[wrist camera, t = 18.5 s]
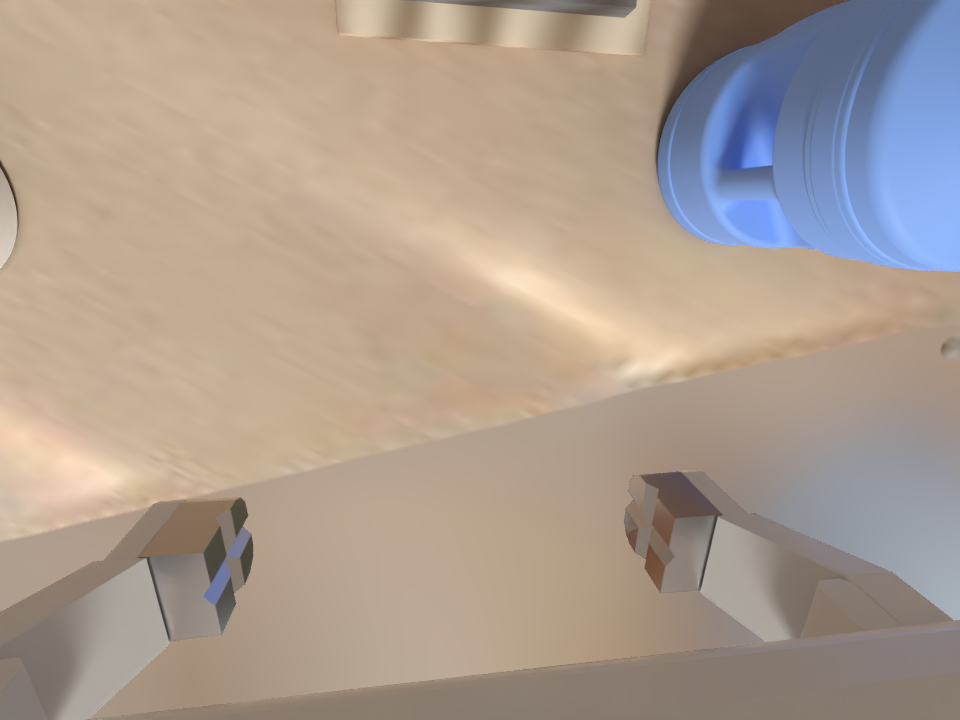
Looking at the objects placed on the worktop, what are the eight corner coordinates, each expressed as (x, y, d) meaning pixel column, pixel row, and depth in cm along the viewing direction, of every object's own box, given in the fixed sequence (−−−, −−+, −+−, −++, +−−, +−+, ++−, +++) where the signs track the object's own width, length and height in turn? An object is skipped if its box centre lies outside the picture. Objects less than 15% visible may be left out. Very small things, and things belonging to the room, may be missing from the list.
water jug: (795, 15, 38) (1661, -413, 11) (830, 194, 43) (1472, 181, 17) (627, 108, 38) (1083, -95, 12) (683, 272, 44) (1080, 377, 18)
